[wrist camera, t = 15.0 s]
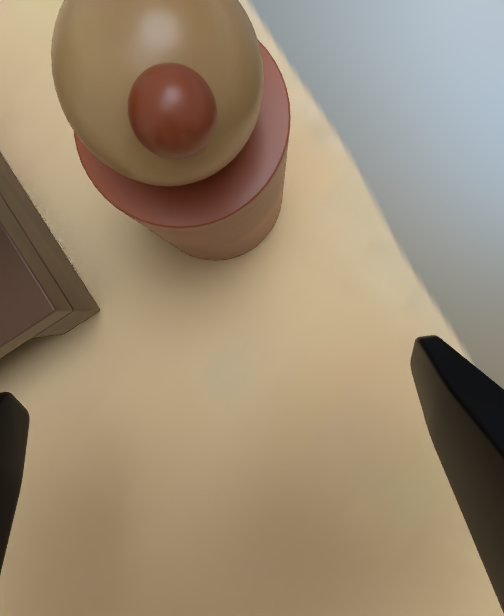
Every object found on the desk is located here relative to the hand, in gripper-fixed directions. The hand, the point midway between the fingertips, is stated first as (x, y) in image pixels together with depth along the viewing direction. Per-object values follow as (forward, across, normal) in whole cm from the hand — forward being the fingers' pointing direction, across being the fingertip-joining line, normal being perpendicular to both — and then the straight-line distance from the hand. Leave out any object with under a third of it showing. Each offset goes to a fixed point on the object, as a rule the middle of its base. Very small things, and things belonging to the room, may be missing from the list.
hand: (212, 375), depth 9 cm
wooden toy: (+9, 0, +1) cm, 9 cm away
